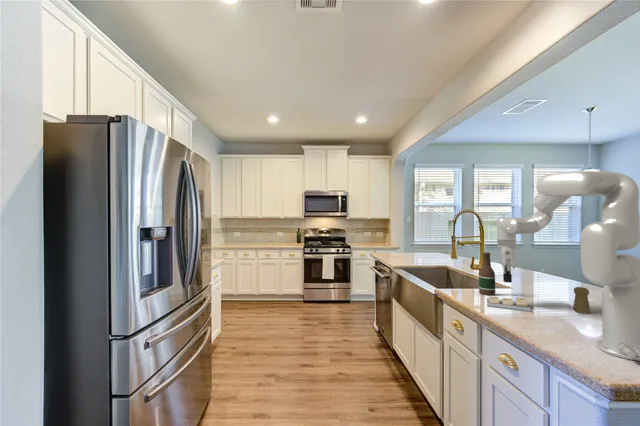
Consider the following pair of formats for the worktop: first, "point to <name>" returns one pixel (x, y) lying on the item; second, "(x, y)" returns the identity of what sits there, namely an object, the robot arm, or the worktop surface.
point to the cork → (581, 300)
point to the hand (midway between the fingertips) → (507, 281)
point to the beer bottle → (486, 277)
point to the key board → (514, 307)
